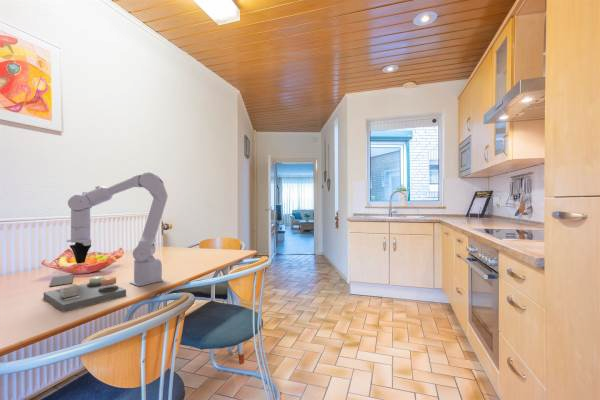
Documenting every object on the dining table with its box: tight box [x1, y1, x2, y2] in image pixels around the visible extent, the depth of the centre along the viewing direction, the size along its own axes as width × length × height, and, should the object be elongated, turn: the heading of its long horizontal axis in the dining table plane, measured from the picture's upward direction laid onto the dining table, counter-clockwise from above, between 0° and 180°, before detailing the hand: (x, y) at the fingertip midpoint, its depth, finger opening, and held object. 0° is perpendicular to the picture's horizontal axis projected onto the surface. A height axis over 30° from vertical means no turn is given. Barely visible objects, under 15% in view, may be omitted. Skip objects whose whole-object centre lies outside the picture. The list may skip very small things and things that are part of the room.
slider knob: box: [59, 283, 79, 298], centre depth 87 cm, size 4×3×3 cm
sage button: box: [88, 275, 105, 284], centre depth 100 cm, size 4×4×2 cm
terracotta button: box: [101, 276, 117, 286], centre depth 94 cm, size 4×4×2 cm
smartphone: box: [48, 274, 75, 288], centre depth 111 cm, size 7×1×15 cm
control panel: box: [43, 282, 127, 313], centre depth 93 cm, size 17×20×3 cm
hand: (80, 263), depth 102 cm, fingers closed
